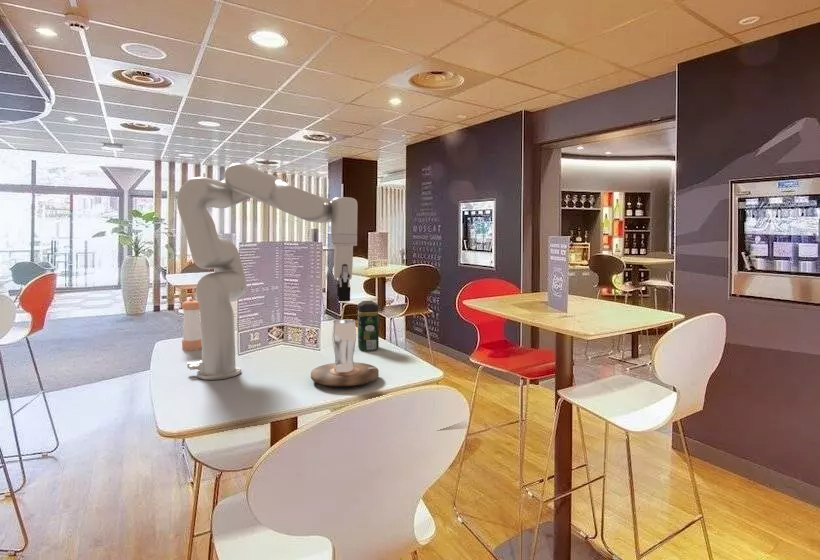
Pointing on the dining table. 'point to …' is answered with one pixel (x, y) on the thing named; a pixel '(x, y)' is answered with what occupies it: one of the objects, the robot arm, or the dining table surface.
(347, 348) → the beer glass
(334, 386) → the turntable base
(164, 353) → the dining table surface
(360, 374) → the disc
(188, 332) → the orange and white bottle
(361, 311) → the coffee jar
